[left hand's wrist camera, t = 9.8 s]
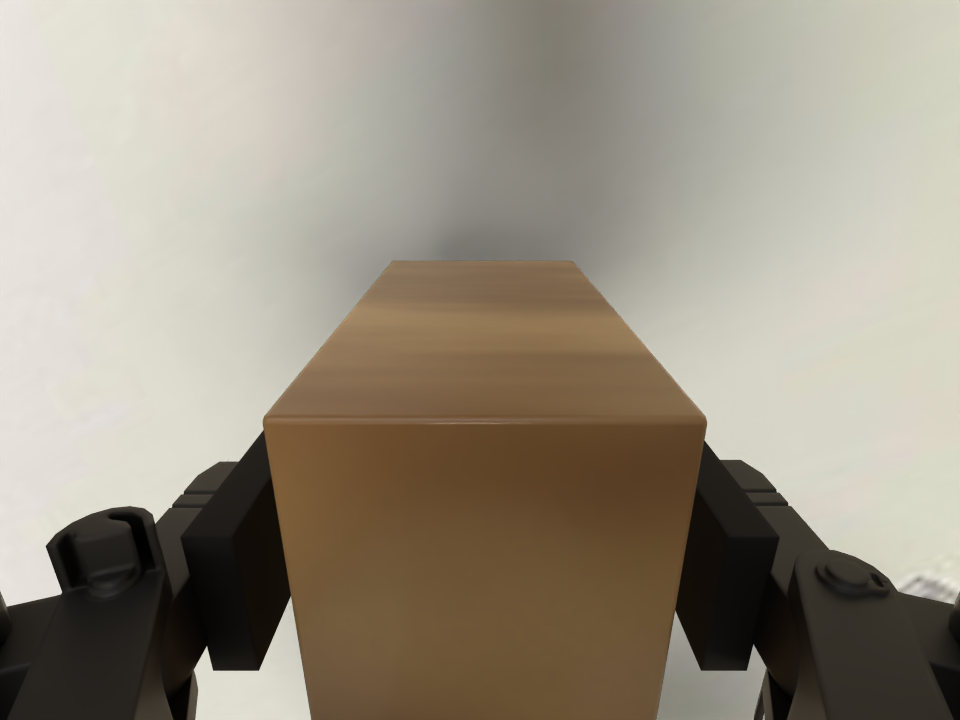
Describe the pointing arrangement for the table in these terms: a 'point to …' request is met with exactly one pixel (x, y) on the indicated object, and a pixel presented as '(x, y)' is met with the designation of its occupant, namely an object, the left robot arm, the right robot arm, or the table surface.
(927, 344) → the table surface
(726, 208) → the table surface
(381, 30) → the table surface
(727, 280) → the table surface
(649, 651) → the bar
